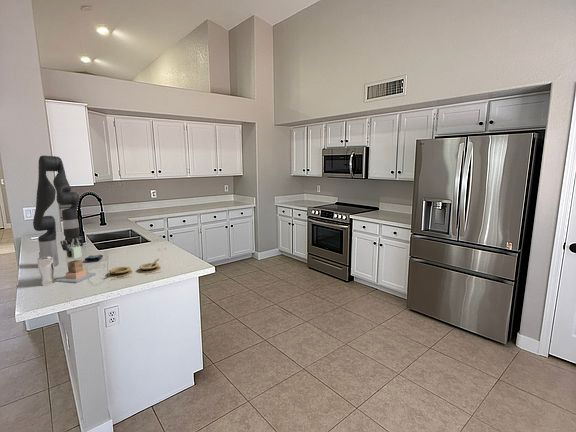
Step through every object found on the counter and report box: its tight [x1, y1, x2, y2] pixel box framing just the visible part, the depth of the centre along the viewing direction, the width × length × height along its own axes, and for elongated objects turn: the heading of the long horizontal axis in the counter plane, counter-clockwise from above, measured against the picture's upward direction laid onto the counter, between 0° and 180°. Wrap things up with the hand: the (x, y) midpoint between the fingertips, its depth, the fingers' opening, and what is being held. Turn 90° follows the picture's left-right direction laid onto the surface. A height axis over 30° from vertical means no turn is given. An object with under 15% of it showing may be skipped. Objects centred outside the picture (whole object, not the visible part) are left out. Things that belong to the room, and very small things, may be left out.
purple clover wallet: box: [84, 254, 104, 263], centre depth 218 cm, size 9×3×11 cm
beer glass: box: [37, 256, 56, 287], centre depth 172 cm, size 7×7×15 cm
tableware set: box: [107, 258, 162, 281], centre depth 193 cm, size 30×20×6 cm, turn 118°
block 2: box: [67, 259, 84, 273], centre depth 181 cm, size 5×5×6 cm
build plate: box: [55, 269, 97, 284], centre depth 182 cm, size 14×14×4 cm
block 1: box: [65, 245, 83, 260], centre depth 180 cm, size 5×5×6 cm
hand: (74, 255), depth 180 cm, fingers closed on block 1, 5 cm apart
